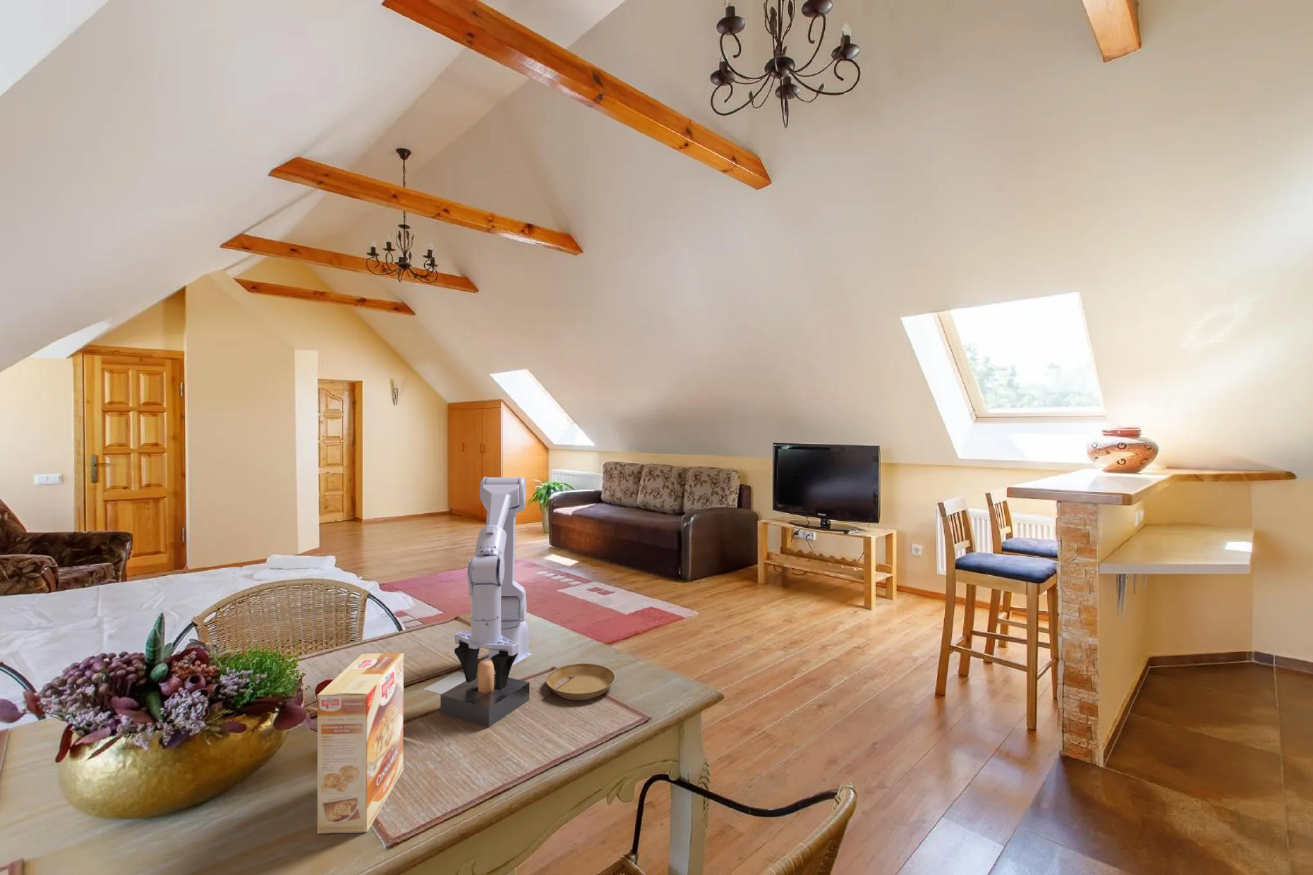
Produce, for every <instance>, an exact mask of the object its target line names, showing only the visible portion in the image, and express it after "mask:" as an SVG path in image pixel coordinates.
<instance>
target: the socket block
mask: <svg viewBox="0 0 1313 875" xmlns="http://www.w3.org/2000/svg"><path fill="white" fill-rule="evenodd" d="M439 695H440V697H439V698H440V704H439V705H440V709H439V710H440V714H442V715H445V716H448V717H453V718H456V719H459V720H463V721H465V722H469V723H472V724H474V725H475V724H476V725H478V726H482V727H486V728H491V727H492V726H493V725H495V724H496V723H498V722H499V721H501V720H503V719H504V718H505V717H507V716H508V715H510V714H511V713H513V712H515V710H517V709H519V708H520V707H522V706H523V705H524V704H526V703H528V702H530V682H529V681H525V680H522V679H518V678H513V677H509V676H508V679H507V684H506V687H505V688H503V689H501V690H497V689H496V682H495V673H494V691H492V692H491V693H489V694H487V695H486V694H483V693H479V692H478V674H477V676H476V679H475V680H473V681H471V682H469V683H468V682H466V681H465V682H463V683H461V684H459V685H457V686H456V687H454V688H452V689H450V690H448V691H446V692H445V693H443V694H439Z"/></svg>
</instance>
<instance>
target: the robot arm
mask: <svg viewBox="0 0 1313 875" xmlns="http://www.w3.org/2000/svg"><path fill="white" fill-rule="evenodd" d="M479 486H480V487H479V497H480V501H481V504H482V506H484V509H485V510H486V523H485V526H484V527H482V528H480V531H479V532H478V536H477V541H476V545H475V549H474V550H475V551H474V556H473V558H470V559H469V560H468V564H467V570H466V572H467V573H466V576H467V584H468V593H469V596H470V631H463V630H461V631H459V632H456V633H455V634H454V644H456V645H458V646H457V647H455V648H454V649H453V650H454V652H453V653H454V654H455V656H457V659H458V660H459V663H460V665H461V667H462V668H461V669H462V672H463V673H464V675H465V678H466V682H468V683H469V682H471V681H473V680H475V679H476V676H477V675H478V659H479V654H480V649H485V650H486V649H487V650H488V657H485V658H483V659H481V660H480V662H482V661H492V662H493V665H494V674H495V682H496V689H497V690H501V689H503V688H505V687H506V684H507V679H508V677H509V676H510V672H511V669H512V667H513V666H514V665H516V664H518V663H520V662H521V661H523V660H525V659H526V658H528V657H530V656H532V654H533V653H532V652H530V646H529V645H530V640H529V638H530V630H529V626H528V623H527V622H526V617H527V609H528V608H527V605H528V603H527V602H528V601H527V596H526V595H527V591H526V590H525V589H526V588H525V587H524V586H522V585H521V584H520V583H518V582H517V581H516V580H515V572H516V571H515V565H516V562H515V560H516V558H515V557H516V554H515V552H516V520H517V515H518V513H520V512H522V511H524V510H526V509H525V507H526V502H527V501H526V497H527V483H526V479H525V478H524V476H519V477H515V476H513V477H511V476H509V477H502V476H501V477H493V476H492V477H490V476H489V477H488V476H483V478H482V479H481V480H480V485H479Z"/></svg>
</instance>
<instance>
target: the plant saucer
mask: <svg viewBox="0 0 1313 875" xmlns="http://www.w3.org/2000/svg"><path fill="white" fill-rule="evenodd" d="M569 677H571V678H570V679H568V680H567V681H566V682H564V683H563V684H561V685H559V687H557V688H555V686H556V685H557V683H559V682H560V681H562V680H564V679H566V678H569ZM615 681H616V674H615V672H614V671H613V670H612V669H610V668H609V667H607V666H604V665H600V664H596V663H589V662H588V663H586V662H585V663H571V664H567V665H563V666H560V667H557V668H556V669H554V670H552V671H551V672H550V673H548V675H547V676H546V678H545V682H546V685H547V686H548V687H549V688H550V689H551V691H552V692H554V693H555V694H556V695H558V696H559V697H561V698H562V699H567V700H571V701H585V700H586V701H587V700H591V699H595V698H598V697H599V696H602V695H603V694H604V693H606V692H607V691H608V690H609V688H611V686H612V685H614V682H615Z"/></svg>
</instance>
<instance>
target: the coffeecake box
mask: <svg viewBox="0 0 1313 875" xmlns="http://www.w3.org/2000/svg"><path fill="white" fill-rule="evenodd" d="M404 657H405V653H403V652H384V653H383V652H382V653H372V652H371V653H361V654H359V656H358V657H356V658H355V660H354V661H352V662H351V663H350V664H349V665H348V666H347V667H346V668H345V669H344V670H342V671H341V672H340V674H338V675H337V676H336V677H335V678H334V679H333V680H332V681H331V682H330V683H329V684H327V686H325V687H324V688H323V689H322V690H321V691H320V692H319V693H318V694H316V697H317V737H316V738H317V782H316V783H317V786H316V787H317V790H316V791H317V796H316V797H317V825H316V828H317V830H316V833H317V835H320V834H354V833H355V834H358V833H368V832H369V830H370V828H371V827H372V824H373V823H374V822H375V820H376V818H377V816H378V814H379V813H380V811H381V810H382V808H383V806H384V805H385V802H386V801H387V800H388V797H389V796H390V794H391V792H392V791H393V788H394V787H395V786H396V784H397V782H398V781H399V778H400V777H401V775H402V773H403V771H404V676H405V675H404V663H405V662H404V660H405V659H404Z"/></svg>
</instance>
